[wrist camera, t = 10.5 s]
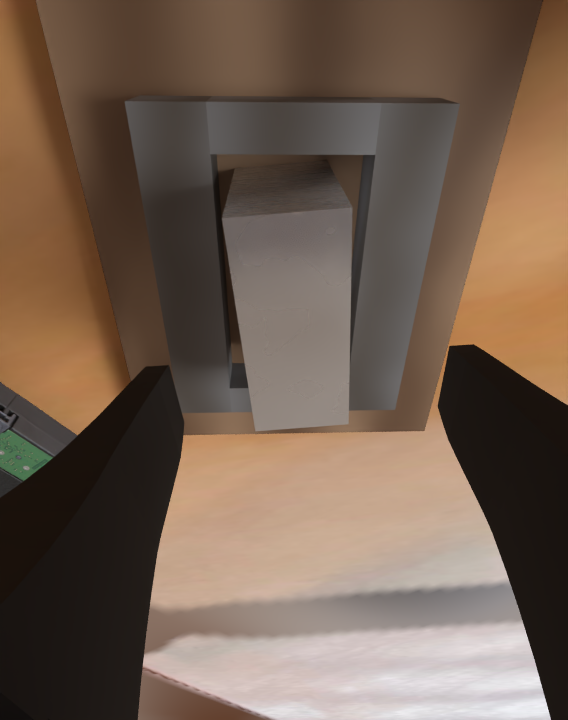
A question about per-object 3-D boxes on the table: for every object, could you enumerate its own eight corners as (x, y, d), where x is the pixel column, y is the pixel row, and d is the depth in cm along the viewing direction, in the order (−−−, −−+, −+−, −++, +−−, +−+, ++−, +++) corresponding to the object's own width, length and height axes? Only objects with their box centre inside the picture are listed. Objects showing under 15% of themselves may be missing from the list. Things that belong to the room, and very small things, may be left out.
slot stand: (528, -27, 15) (591, -45, 12) (416, 413, 26) (435, 457, 23) (45, -35, 14) (-11, -56, 11) (150, 417, 26) (135, 463, 23)
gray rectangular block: (327, 160, 16) (352, 207, 12) (329, 337, 21) (348, 424, 16) (235, 168, 16) (222, 218, 12) (257, 343, 21) (255, 431, 16)
